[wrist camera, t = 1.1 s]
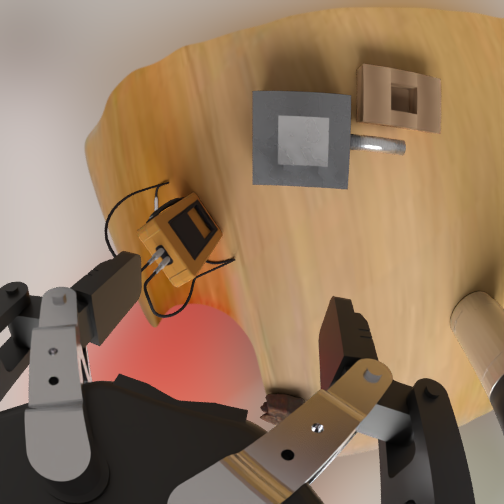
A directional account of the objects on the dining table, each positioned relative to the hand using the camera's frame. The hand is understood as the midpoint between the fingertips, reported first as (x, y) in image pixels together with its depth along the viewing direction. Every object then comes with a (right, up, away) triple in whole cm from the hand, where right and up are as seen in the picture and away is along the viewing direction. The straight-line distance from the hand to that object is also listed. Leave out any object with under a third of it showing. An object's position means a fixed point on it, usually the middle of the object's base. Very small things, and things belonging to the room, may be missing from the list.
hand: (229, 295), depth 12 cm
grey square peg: (+7, +15, +21) cm, 27 cm away
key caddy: (+19, +21, +19) cm, 34 cm away
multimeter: (-9, +5, +31) cm, 32 cm away
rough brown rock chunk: (+8, -27, +42) cm, 50 cm away
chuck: (+10, +16, +23) cm, 30 cm away
